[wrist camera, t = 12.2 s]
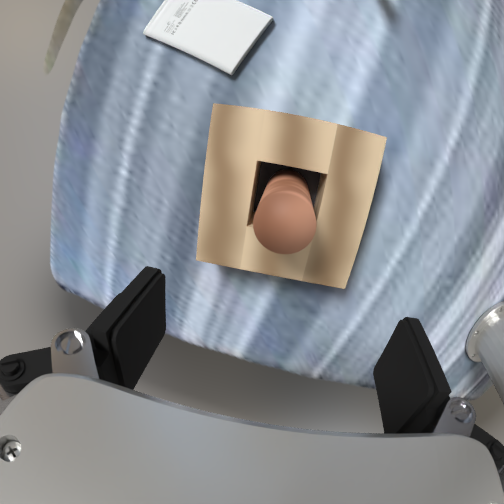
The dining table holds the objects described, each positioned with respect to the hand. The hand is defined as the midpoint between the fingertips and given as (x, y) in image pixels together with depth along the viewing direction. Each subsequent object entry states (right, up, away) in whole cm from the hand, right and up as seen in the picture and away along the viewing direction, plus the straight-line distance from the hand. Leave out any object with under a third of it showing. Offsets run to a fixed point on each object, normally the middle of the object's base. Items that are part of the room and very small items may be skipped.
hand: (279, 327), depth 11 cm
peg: (+3, +10, +21) cm, 23 cm away
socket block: (+3, +10, +21) cm, 23 cm away
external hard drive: (-6, +28, +14) cm, 32 cm away
